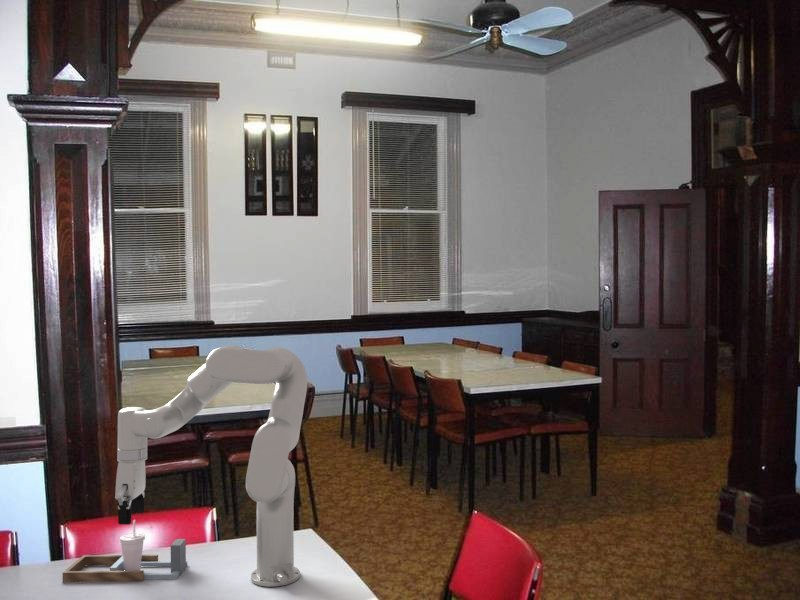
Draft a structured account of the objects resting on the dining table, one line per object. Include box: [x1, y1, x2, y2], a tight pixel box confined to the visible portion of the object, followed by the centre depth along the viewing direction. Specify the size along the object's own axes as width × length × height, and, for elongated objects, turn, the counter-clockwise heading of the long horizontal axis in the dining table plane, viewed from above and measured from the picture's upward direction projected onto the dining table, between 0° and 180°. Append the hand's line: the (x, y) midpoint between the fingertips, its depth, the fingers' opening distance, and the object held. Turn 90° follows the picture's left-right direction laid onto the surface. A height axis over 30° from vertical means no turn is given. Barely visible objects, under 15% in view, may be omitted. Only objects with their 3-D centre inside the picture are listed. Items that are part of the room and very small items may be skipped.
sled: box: [109, 538, 188, 580], centre depth 193 cm, size 18×9×8 cm, turn 90°
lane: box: [62, 554, 159, 583], centre depth 193 cm, size 21×12×2 cm, turn 90°
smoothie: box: [119, 519, 146, 571], centre depth 193 cm, size 6×6×14 cm
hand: (131, 518), depth 193 cm, fingers open, 9 cm apart
